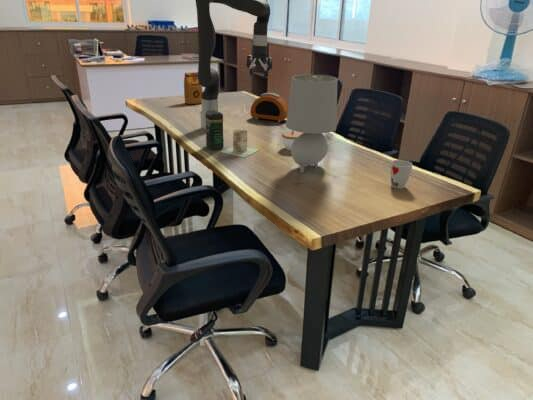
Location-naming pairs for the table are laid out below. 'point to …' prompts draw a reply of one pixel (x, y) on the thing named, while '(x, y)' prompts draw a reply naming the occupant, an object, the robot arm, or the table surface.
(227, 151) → the green mat
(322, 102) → the table lamp
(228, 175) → the table surface
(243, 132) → the maple block
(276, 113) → the alarm clock
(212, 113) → the coffee jar
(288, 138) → the lidded jar
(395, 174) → the cup
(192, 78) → the coffee package
